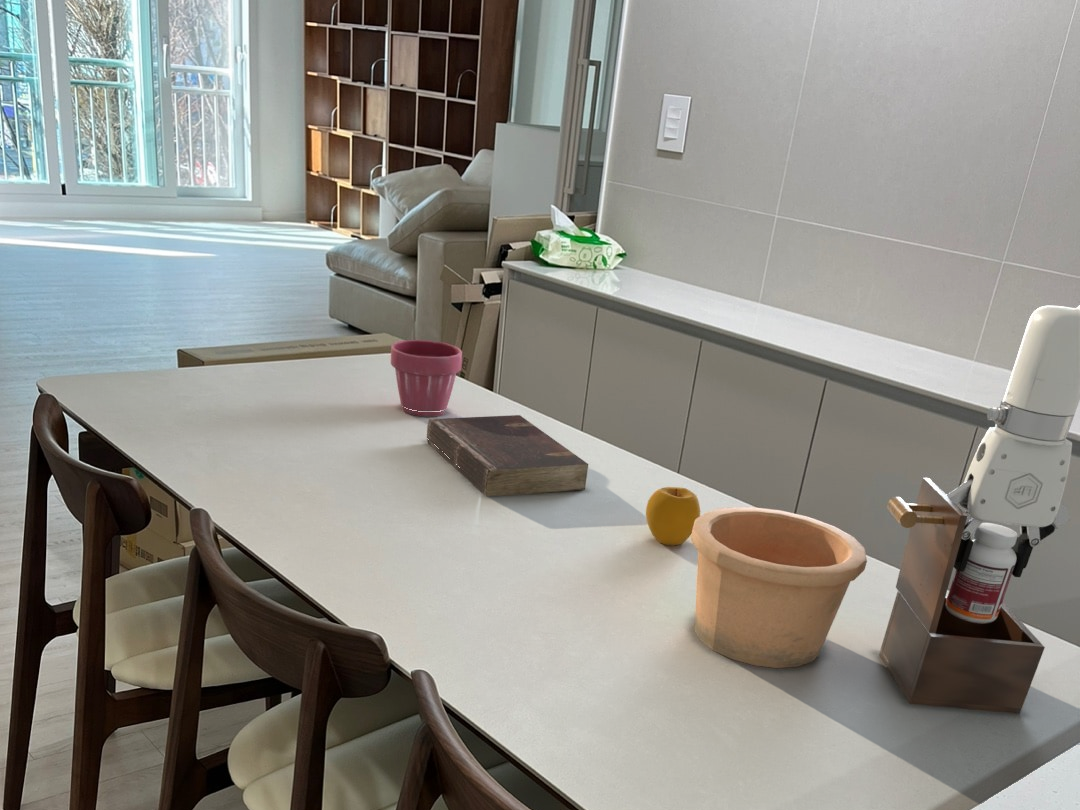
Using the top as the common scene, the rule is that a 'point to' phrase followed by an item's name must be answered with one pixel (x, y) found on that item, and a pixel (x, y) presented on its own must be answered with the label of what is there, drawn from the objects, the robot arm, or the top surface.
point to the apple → (672, 514)
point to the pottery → (770, 583)
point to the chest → (961, 660)
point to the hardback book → (506, 455)
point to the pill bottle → (984, 575)
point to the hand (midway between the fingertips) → (984, 568)
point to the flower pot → (425, 374)
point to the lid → (928, 550)
